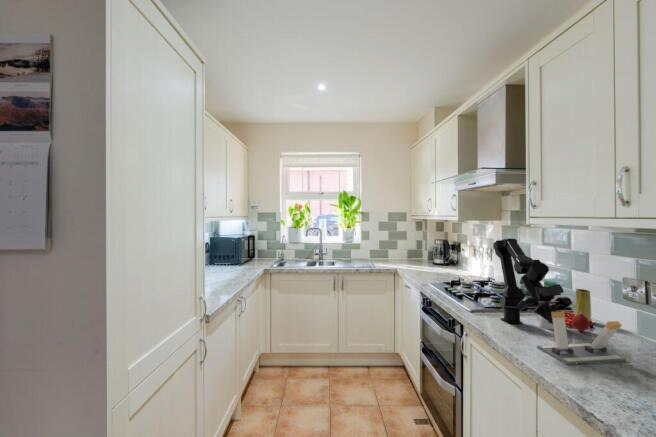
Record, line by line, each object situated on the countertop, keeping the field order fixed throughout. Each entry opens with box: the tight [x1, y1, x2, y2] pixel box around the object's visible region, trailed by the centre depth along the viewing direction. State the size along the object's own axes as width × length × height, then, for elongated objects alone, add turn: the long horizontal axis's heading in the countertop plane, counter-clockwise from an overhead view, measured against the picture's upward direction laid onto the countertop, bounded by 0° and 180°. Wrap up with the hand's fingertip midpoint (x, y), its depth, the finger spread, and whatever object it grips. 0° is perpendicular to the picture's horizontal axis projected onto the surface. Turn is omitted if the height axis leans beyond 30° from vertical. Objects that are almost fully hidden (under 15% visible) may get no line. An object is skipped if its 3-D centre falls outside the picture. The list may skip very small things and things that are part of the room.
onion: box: [571, 313, 590, 332], centre depth 134 cm, size 6×6×8 cm
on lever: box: [590, 320, 622, 350], centre depth 110 cm, size 2×4×14 cm
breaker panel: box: [536, 342, 627, 365], centre depth 113 cm, size 13×22×2 cm, turn 96°
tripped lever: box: [551, 310, 569, 352], centre depth 113 cm, size 2×4×14 cm, turn 96°
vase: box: [573, 288, 592, 322], centre depth 146 cm, size 6×6×14 cm
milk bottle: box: [538, 280, 562, 331], centre depth 138 cm, size 8×8×20 cm
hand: (557, 325), depth 114 cm, fingers closed, pressing on tripped lever
